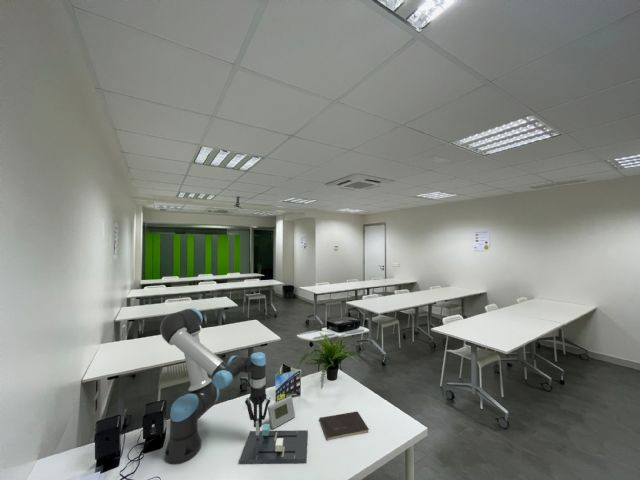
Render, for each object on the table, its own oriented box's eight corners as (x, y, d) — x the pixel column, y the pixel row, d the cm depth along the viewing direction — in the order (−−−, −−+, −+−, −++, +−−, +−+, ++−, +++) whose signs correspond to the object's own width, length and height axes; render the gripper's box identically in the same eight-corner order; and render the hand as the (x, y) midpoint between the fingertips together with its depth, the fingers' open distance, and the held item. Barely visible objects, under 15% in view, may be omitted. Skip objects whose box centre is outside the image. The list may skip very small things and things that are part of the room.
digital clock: (270, 431, 132) (270, 410, 133) (264, 421, 140) (265, 401, 141) (298, 420, 141) (298, 401, 141) (291, 411, 148) (291, 393, 149)
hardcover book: (369, 433, 131) (369, 429, 131) (326, 441, 125) (326, 437, 126) (357, 414, 147) (357, 410, 147) (319, 421, 141) (319, 417, 141)
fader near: (275, 455, 114) (275, 445, 114) (276, 447, 118) (276, 438, 118) (281, 454, 114) (282, 445, 114) (283, 447, 118) (283, 438, 118)
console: (239, 464, 111) (239, 459, 112) (250, 435, 129) (250, 430, 130) (306, 463, 112) (306, 458, 112) (307, 434, 130) (307, 430, 130)
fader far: (262, 438, 123) (262, 430, 124) (263, 432, 128) (263, 424, 128) (268, 438, 124) (268, 430, 124) (269, 432, 128) (269, 423, 128)
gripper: (243, 389, 123) (242, 439, 122) (269, 388, 123) (269, 438, 122) (247, 381, 131) (246, 428, 129) (272, 381, 131) (272, 427, 129)
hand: (257, 433), depth 126 cm, fingers closed
